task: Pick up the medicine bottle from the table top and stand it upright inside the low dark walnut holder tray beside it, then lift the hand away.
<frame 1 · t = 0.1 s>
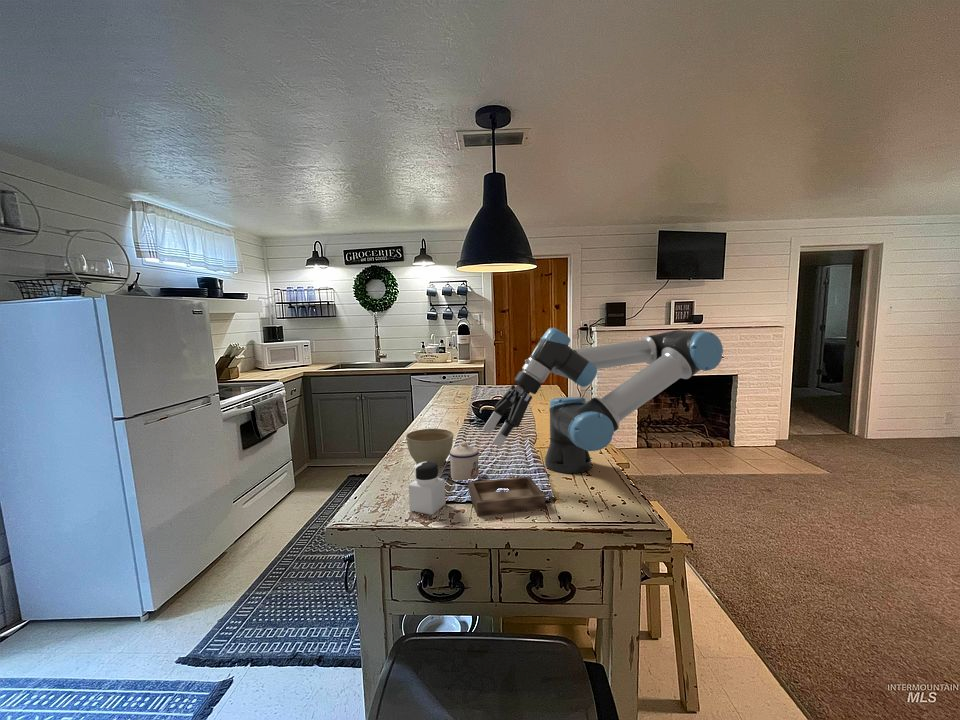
hand: (490, 437, 121), 15 cm above the table, tool tilted 35°, fingers open, 13 cm apart
teacup with lid: (465, 477, 133), on the table
holder tray: (505, 501, 115), on the table
planter bowl: (431, 465, 145), on the table
medicine bottle: (427, 508, 112), on the table
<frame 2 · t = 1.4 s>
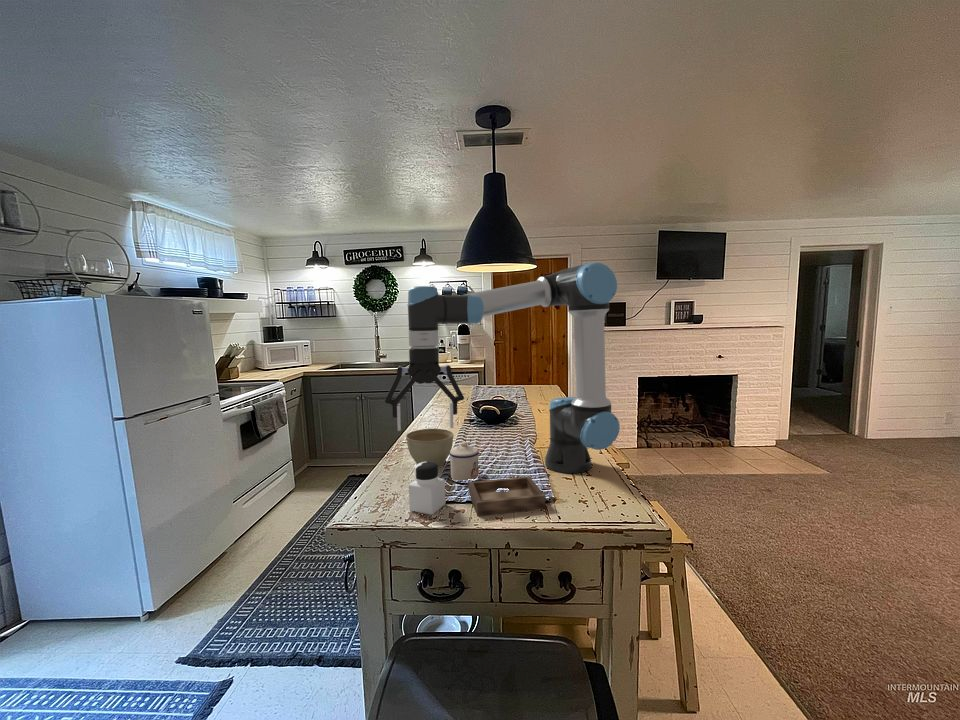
hand: (425, 428, 110), 21 cm above the table, tool pointing down, fingers open, 13 cm apart
nothing on the table moved.
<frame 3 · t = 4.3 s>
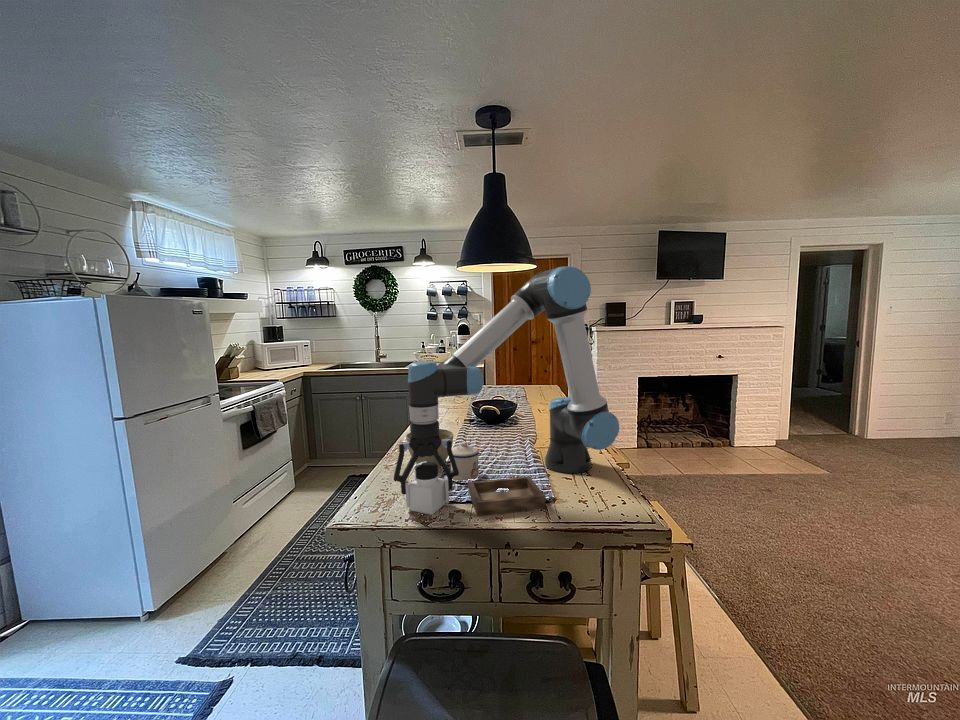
hand: (427, 503, 112), 1 cm above the table, tool pointing down, fingers closed on medicine bottle, 10 cm apart
medicine bottle: (427, 508, 112), on the table, touching gripper
everything else where it was.
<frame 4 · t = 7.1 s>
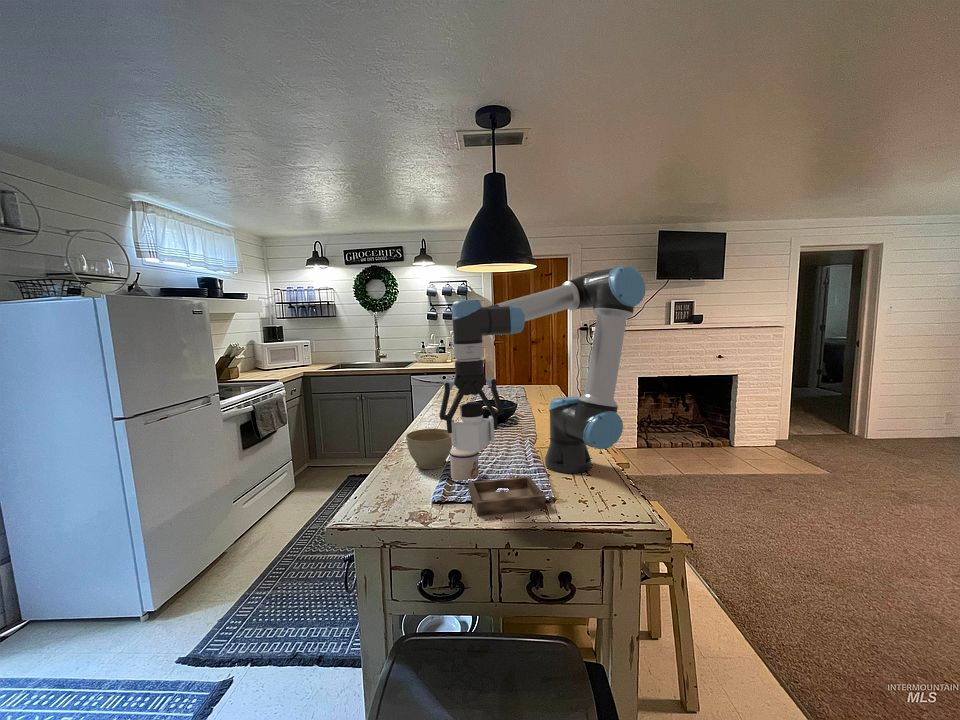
hand: (473, 442, 112), 17 cm above the table, tool pointing down, fingers closed on medicine bottle, 10 cm apart
medicine bottle: (473, 447, 112), point 15 cm above the table, touching gripper
everything else where it was.
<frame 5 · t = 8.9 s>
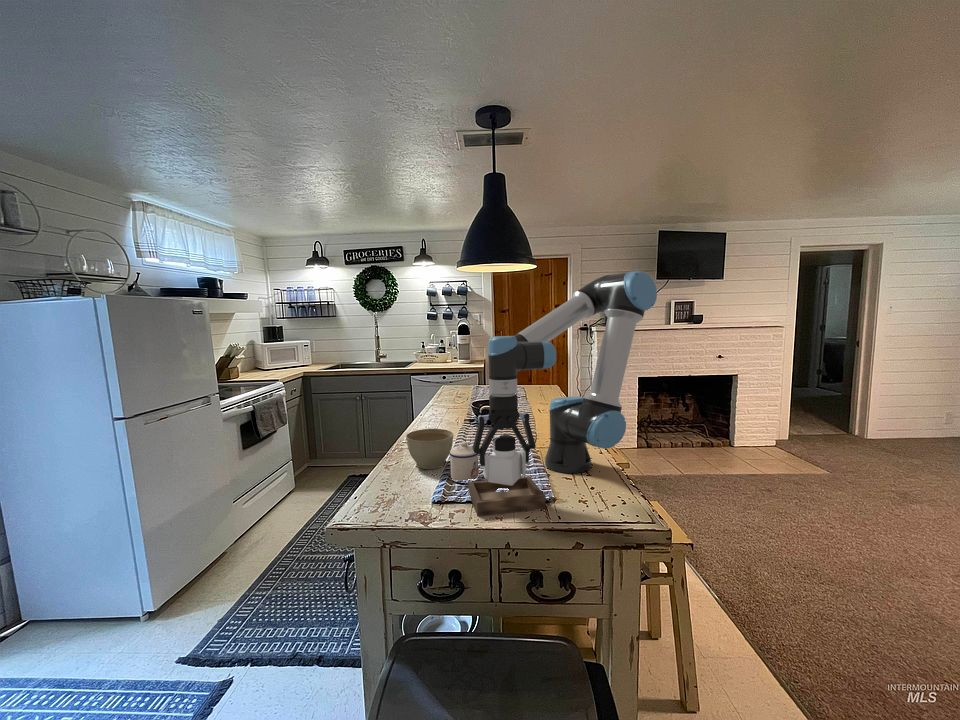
hand: (504, 475, 114), 7 cm above the table, tool pointing down, fingers closed on medicine bottle, 10 cm apart
medicine bottle: (504, 480, 114), point 6 cm above the table, touching gripper
everything else where it was.
when the fingers open (4 cm above the table, at t = 10.4 s): medicine bottle drops 2 cm, resting on holder tray.
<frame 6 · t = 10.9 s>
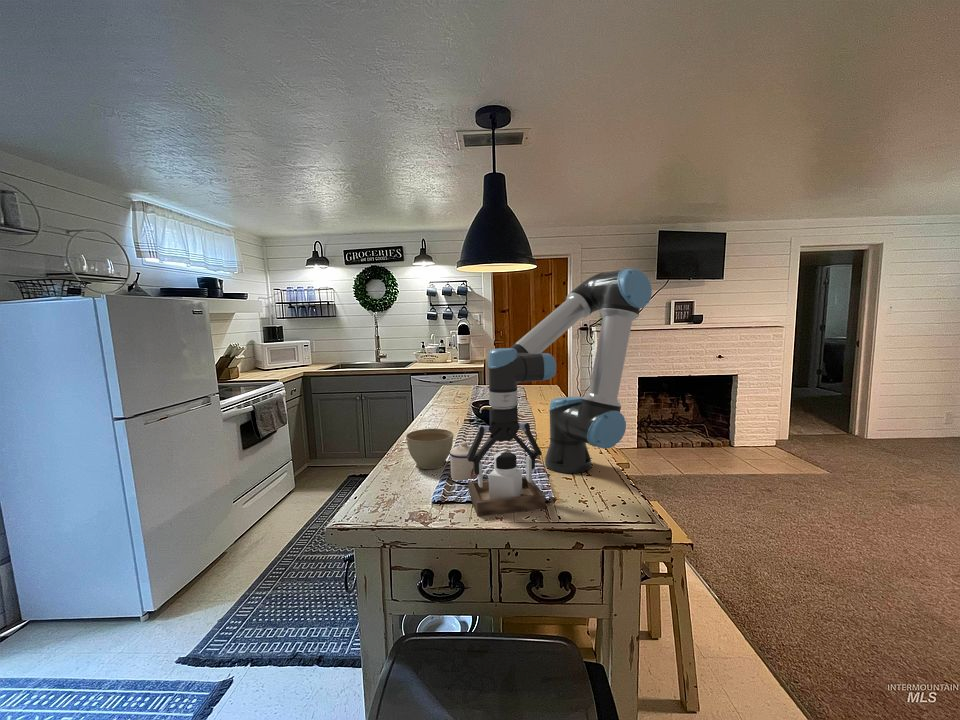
hand: (504, 483, 114), 5 cm above the table, tool pointing down, fingers open, 13 cm apart
medicine bottle: (505, 497, 115), point 1 cm above the table, touching holder tray
everything else where it was.
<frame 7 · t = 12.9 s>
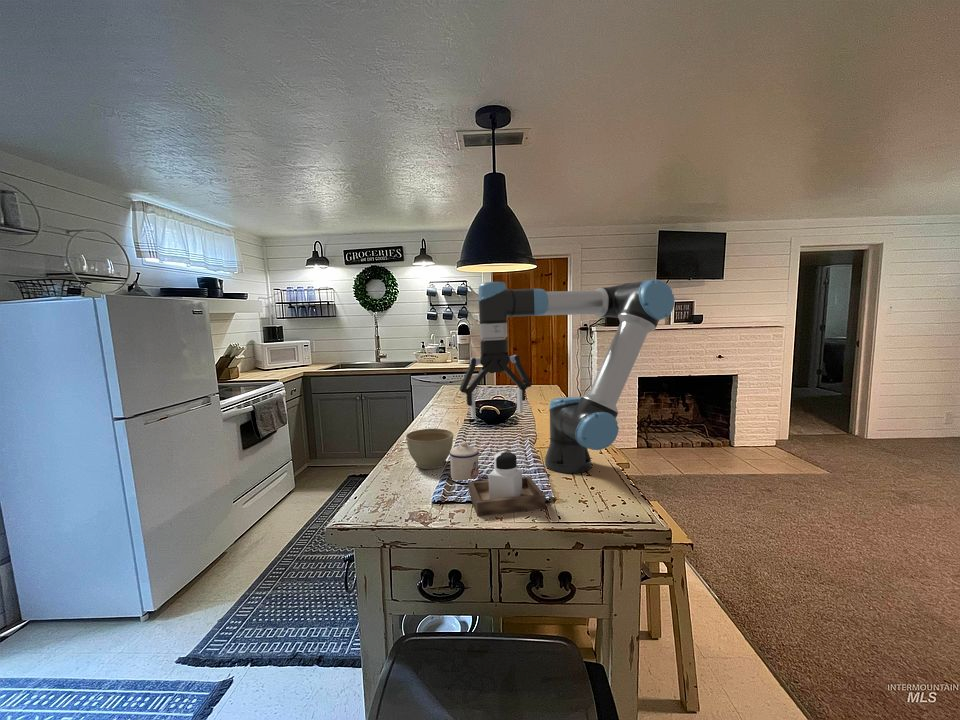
hand: (496, 414, 118), 23 cm above the table, tool pointing down, fingers open, 13 cm apart
nothing on the table moved.
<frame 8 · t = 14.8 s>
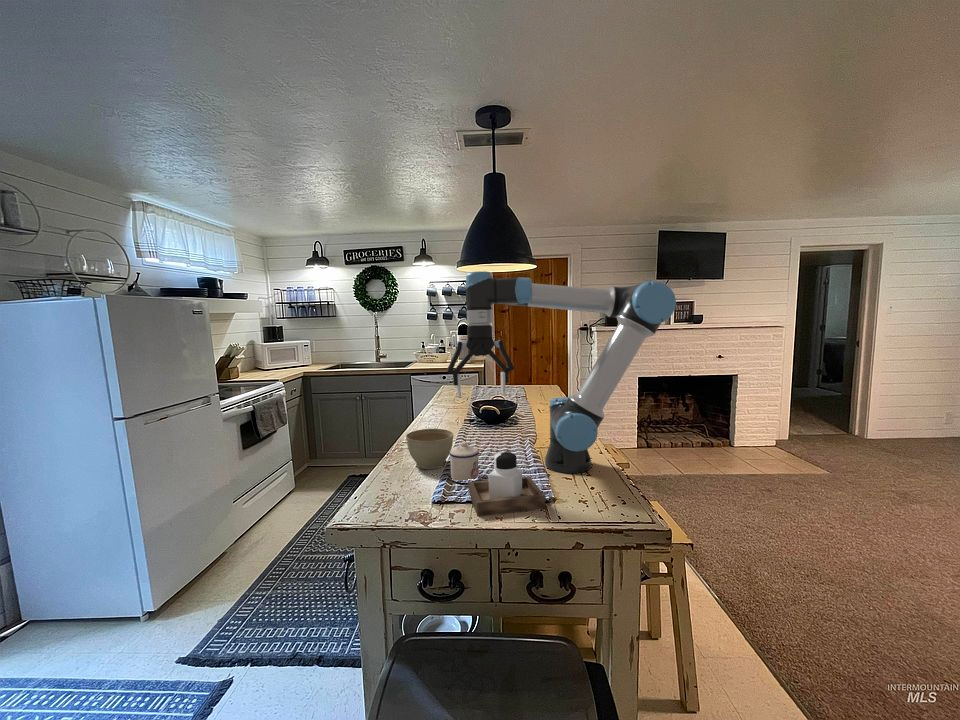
hand: (481, 395, 127), 27 cm above the table, tool pointing down, fingers open, 13 cm apart
nothing on the table moved.
at the end: medicine bottle inside the target area on the holder tray (0.2 cm from its centre), point 1.0 cm above the holder tray's base; medicine bottle tilted 0°; the gripper is holding nothing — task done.
